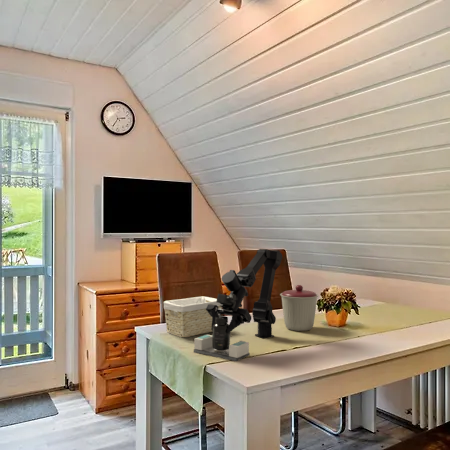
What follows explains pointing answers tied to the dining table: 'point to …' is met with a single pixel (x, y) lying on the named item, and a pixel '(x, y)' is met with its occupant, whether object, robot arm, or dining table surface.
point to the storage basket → (189, 316)
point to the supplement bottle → (220, 334)
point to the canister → (299, 308)
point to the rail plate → (219, 353)
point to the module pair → (234, 349)
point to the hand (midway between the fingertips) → (219, 331)
